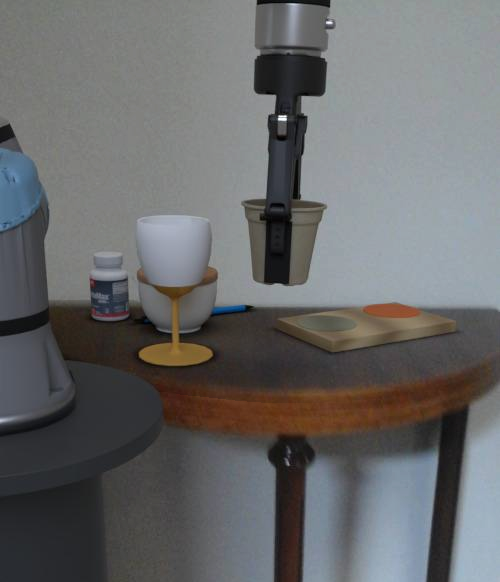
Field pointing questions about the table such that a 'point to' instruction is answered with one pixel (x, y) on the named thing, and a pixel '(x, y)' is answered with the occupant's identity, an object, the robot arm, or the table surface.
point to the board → (361, 328)
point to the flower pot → (302, 242)
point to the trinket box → (179, 303)
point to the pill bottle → (109, 287)
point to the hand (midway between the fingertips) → (280, 274)
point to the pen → (215, 311)
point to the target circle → (391, 310)
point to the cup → (174, 275)
